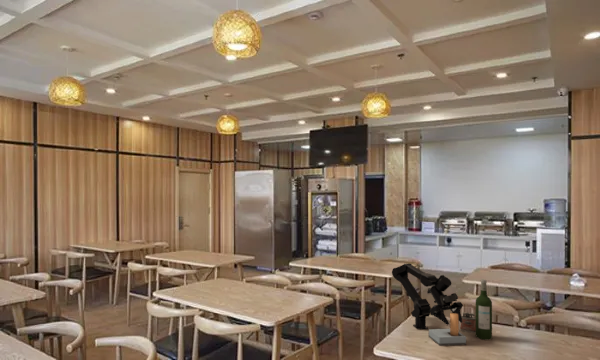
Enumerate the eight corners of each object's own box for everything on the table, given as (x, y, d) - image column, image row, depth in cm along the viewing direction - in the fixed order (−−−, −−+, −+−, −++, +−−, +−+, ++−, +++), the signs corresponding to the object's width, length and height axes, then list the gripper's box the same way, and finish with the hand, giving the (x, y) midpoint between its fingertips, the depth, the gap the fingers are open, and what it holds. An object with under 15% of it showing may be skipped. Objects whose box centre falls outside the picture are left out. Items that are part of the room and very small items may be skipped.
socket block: (428, 337, 215) (428, 329, 215) (454, 336, 217) (454, 328, 217) (439, 345, 203) (439, 337, 203) (466, 344, 205) (466, 336, 205)
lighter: (460, 330, 226) (460, 312, 226) (460, 328, 229) (460, 310, 229) (475, 333, 222) (475, 314, 222) (476, 331, 225) (476, 312, 225)
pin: (449, 340, 208) (449, 314, 208) (451, 338, 211) (451, 312, 212) (457, 341, 206) (457, 315, 206) (459, 339, 209) (459, 313, 209)
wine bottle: (488, 335, 219) (488, 278, 220) (494, 340, 211) (494, 281, 212) (473, 334, 220) (473, 278, 221) (478, 339, 212) (478, 281, 213)
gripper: (433, 289, 209) (450, 317, 199) (460, 286, 217) (477, 313, 207) (422, 301, 216) (438, 329, 206) (448, 297, 224) (464, 324, 214)
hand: (455, 323), depth 208 cm, fingers open, 9 cm apart
